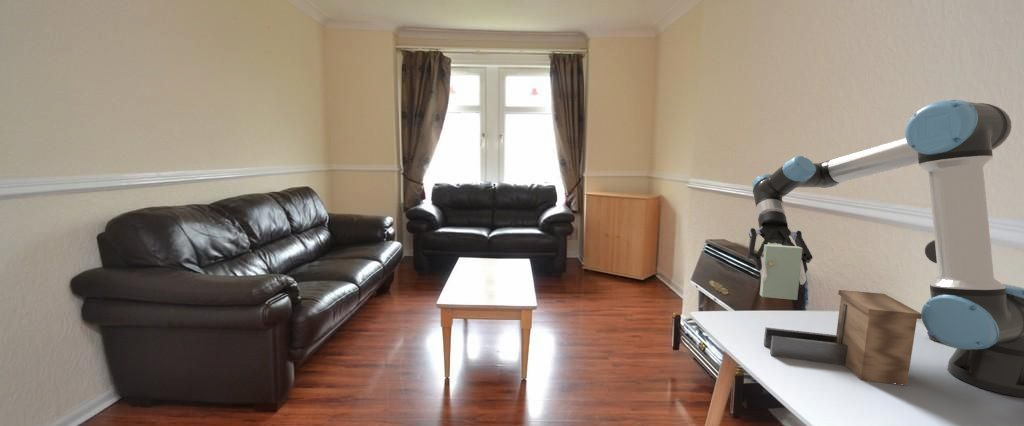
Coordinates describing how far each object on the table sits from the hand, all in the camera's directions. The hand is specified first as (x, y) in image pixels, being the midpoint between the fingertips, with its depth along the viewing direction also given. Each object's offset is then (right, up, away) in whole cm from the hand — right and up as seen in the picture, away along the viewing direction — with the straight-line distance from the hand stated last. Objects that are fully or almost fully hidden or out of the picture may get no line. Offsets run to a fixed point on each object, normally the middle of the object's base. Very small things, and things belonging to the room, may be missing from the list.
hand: (783, 280), depth 123 cm
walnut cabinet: (+11, -19, -16) cm, 27 cm away
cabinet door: (+1, -5, +4) cm, 7 cm away
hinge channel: (-1, -18, -9) cm, 20 cm away
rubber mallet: (+45, -18, +3) cm, 49 cm away
